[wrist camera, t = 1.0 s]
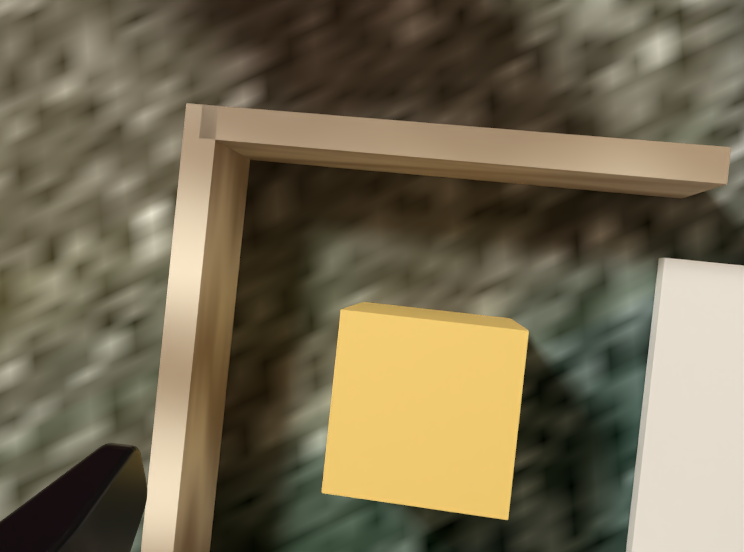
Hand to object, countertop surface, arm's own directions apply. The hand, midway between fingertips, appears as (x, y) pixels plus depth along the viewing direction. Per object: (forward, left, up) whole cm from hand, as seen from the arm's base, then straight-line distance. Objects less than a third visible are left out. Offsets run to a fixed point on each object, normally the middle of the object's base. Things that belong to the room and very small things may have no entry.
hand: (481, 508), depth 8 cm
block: (-1, +1, -14) cm, 14 cm away
